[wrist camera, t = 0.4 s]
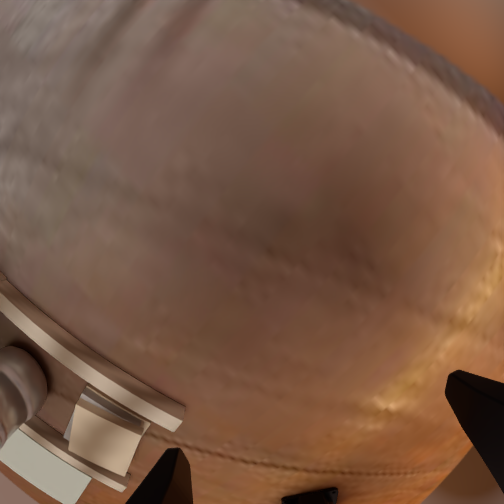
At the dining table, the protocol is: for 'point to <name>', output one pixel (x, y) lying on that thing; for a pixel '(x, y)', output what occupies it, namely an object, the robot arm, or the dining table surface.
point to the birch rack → (90, 369)
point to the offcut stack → (105, 430)
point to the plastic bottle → (19, 390)
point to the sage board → (43, 468)
